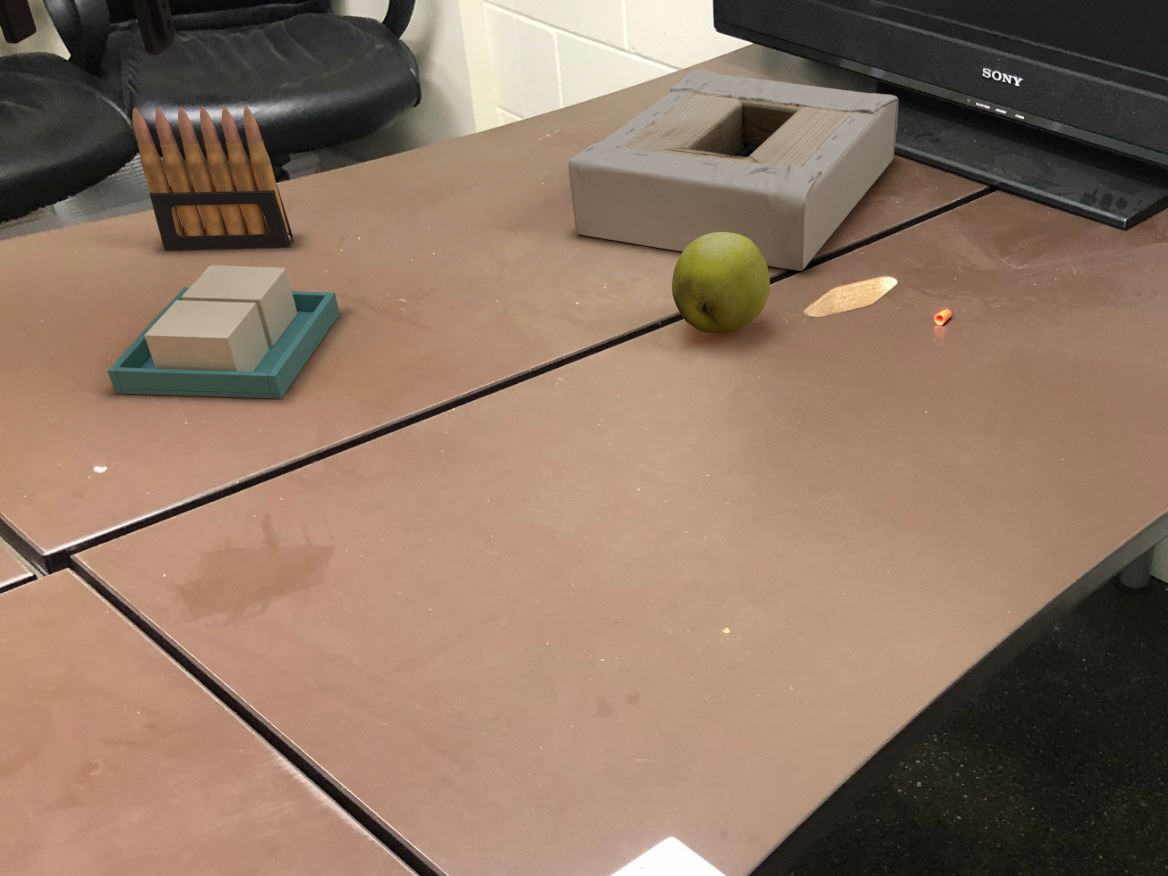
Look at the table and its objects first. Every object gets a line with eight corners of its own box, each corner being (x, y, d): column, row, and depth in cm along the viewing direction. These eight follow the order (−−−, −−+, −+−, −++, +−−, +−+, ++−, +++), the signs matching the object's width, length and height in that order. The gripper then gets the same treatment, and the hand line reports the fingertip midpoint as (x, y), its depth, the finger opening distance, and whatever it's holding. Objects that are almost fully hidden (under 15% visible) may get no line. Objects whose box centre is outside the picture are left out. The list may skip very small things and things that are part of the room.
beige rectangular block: (223, 311, 110) (209, 264, 107) (298, 313, 110) (285, 267, 107) (195, 344, 105) (180, 296, 102) (273, 347, 105) (260, 299, 103)
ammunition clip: (294, 238, 122) (259, 102, 114) (290, 246, 121) (255, 109, 113) (168, 242, 120) (125, 104, 113) (164, 250, 119) (119, 111, 111)
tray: (115, 393, 99) (106, 370, 98) (190, 308, 111) (183, 286, 109) (281, 398, 100) (275, 375, 99) (340, 313, 111) (334, 292, 110)
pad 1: (160, 384, 100) (143, 334, 97) (191, 347, 105) (176, 299, 102) (242, 386, 100) (227, 337, 98) (269, 350, 105) (256, 302, 102)
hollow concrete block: (809, 276, 121) (897, 159, 145) (807, 192, 116) (899, 85, 140) (573, 243, 125) (697, 135, 149) (562, 160, 120) (692, 62, 144)
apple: (784, 313, 115) (783, 222, 110) (748, 359, 108) (745, 265, 103) (700, 299, 116) (695, 209, 111) (658, 344, 110) (651, 250, 104)
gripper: (172, -237, 88) (234, 39, 99) (-100, -262, 87) (-6, 20, 98) (122, -223, 82) (194, 69, 93) (-169, -249, 81) (-62, 49, 92)
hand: (91, 44), depth 96 cm, fingers open, 9 cm apart
